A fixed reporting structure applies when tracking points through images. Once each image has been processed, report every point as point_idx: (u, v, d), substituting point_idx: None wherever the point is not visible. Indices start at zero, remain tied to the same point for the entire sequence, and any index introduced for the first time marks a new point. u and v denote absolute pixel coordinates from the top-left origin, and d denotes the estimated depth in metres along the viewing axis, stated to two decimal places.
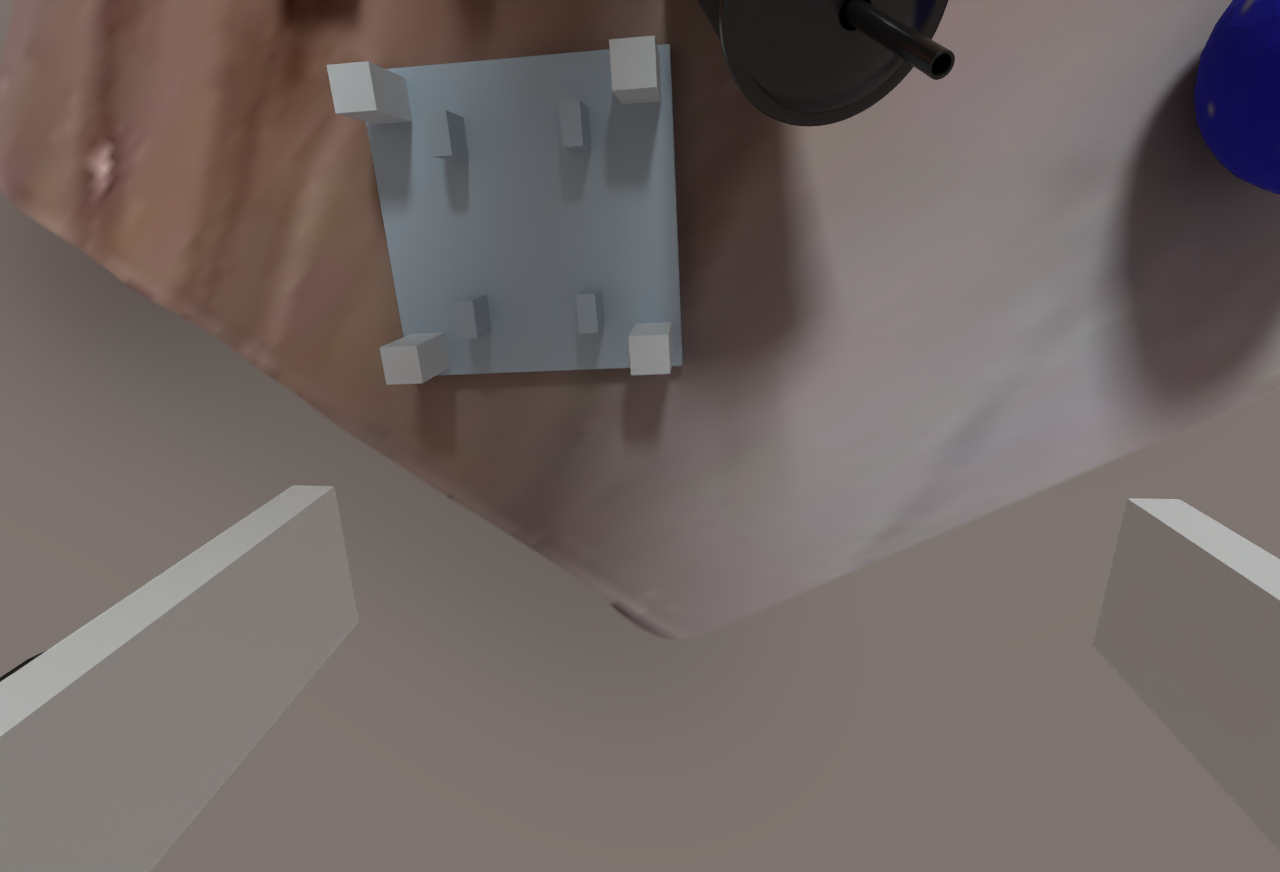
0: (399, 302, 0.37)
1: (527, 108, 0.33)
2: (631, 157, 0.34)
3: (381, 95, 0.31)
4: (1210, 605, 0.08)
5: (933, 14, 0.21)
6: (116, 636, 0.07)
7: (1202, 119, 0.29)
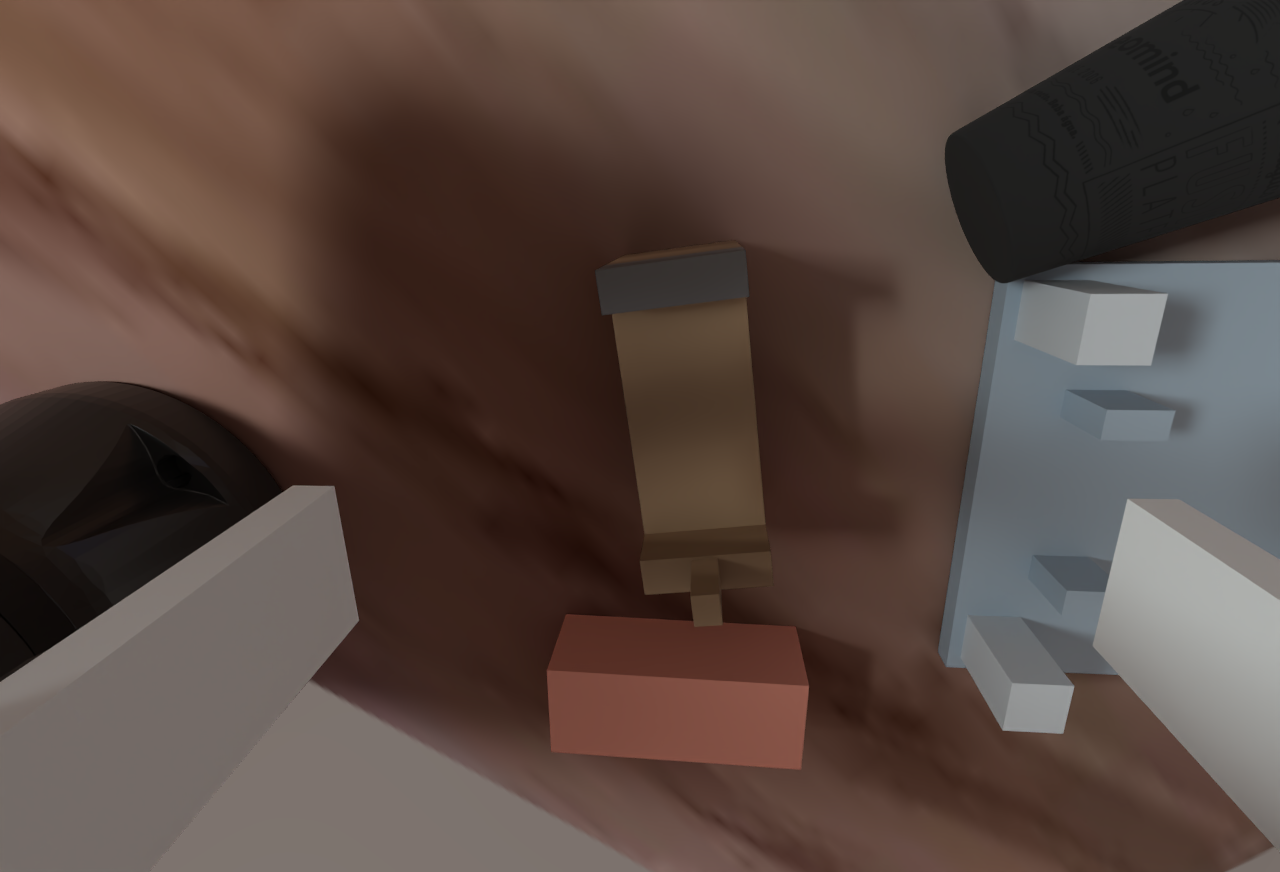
0: None
1: (1044, 472, 0.24)
2: None
3: (1041, 670, 0.23)
4: (1211, 605, 0.08)
5: None
6: (116, 636, 0.07)
7: None
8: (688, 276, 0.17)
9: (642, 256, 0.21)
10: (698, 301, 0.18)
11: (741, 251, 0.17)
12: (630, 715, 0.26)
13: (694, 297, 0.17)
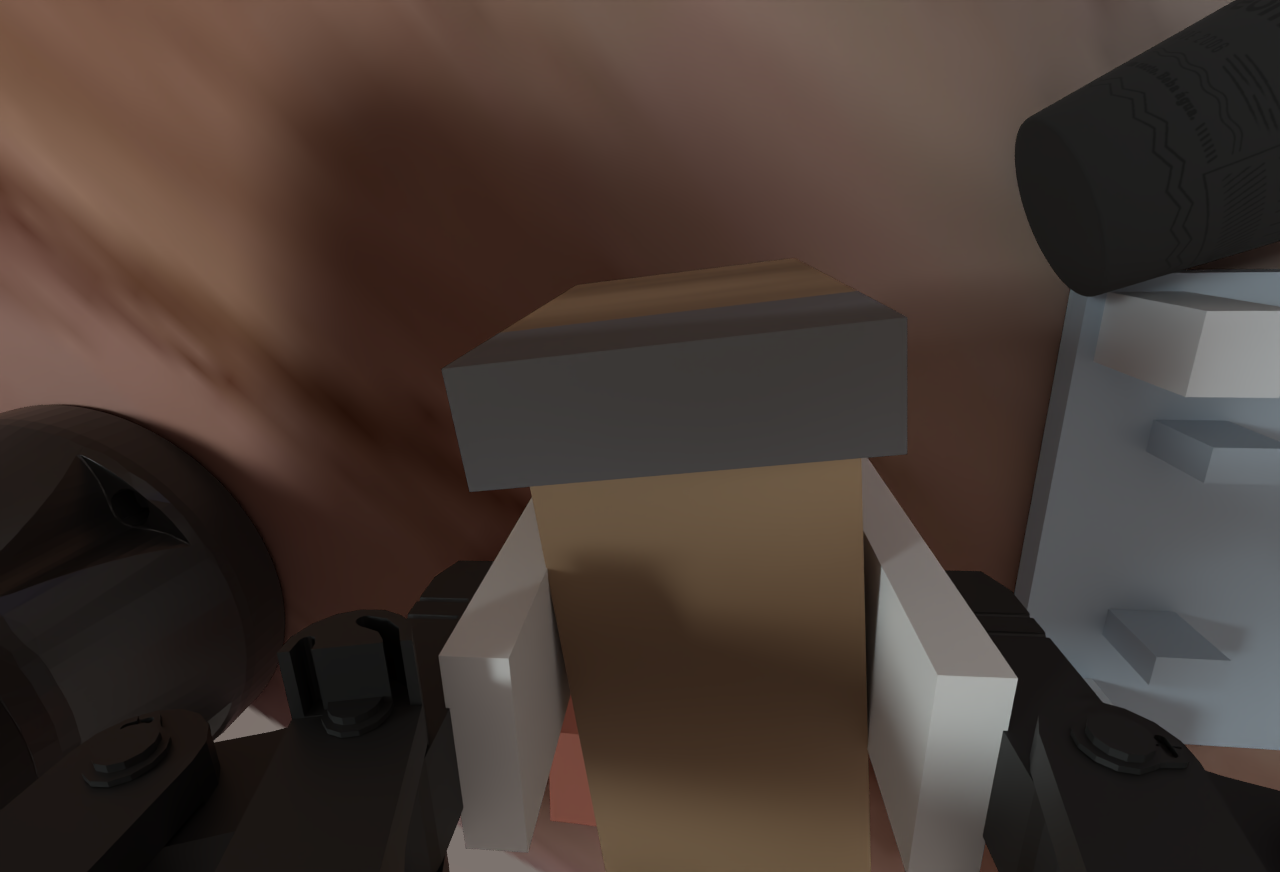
0: None
1: (1125, 514, 0.20)
2: None
3: None
4: None
5: None
6: (540, 551, 0.09)
7: None
8: (723, 392, 0.06)
9: (605, 298, 0.10)
10: (751, 463, 0.06)
11: (894, 321, 0.05)
12: None
13: (739, 452, 0.06)
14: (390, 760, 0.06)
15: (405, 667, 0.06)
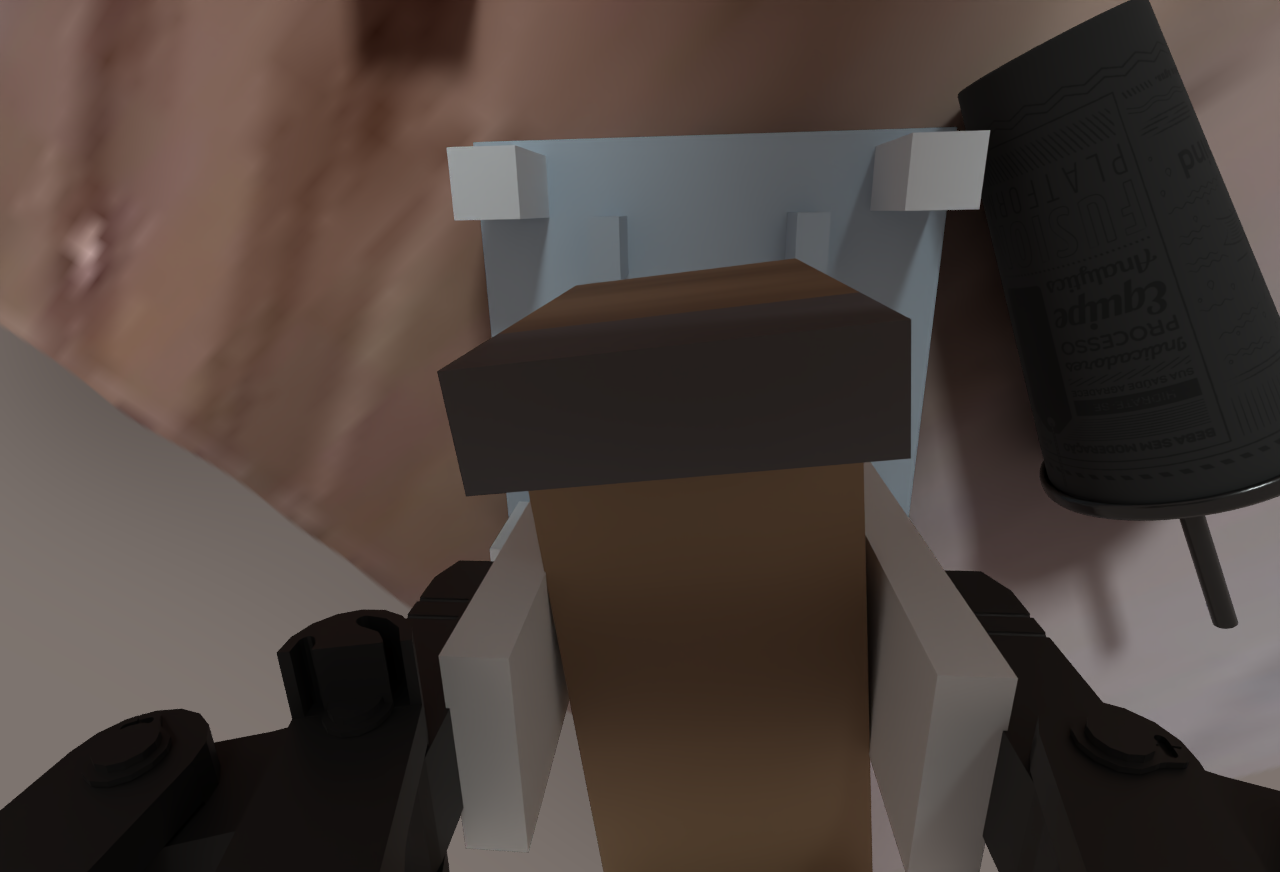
0: None
1: (725, 208, 0.23)
2: (872, 284, 0.23)
3: (525, 194, 0.20)
4: None
5: None
6: None
7: None
8: (723, 395, 0.06)
9: (604, 299, 0.09)
10: (752, 468, 0.06)
11: (897, 323, 0.05)
12: None
13: (740, 456, 0.06)
14: (390, 760, 0.06)
15: (405, 667, 0.06)
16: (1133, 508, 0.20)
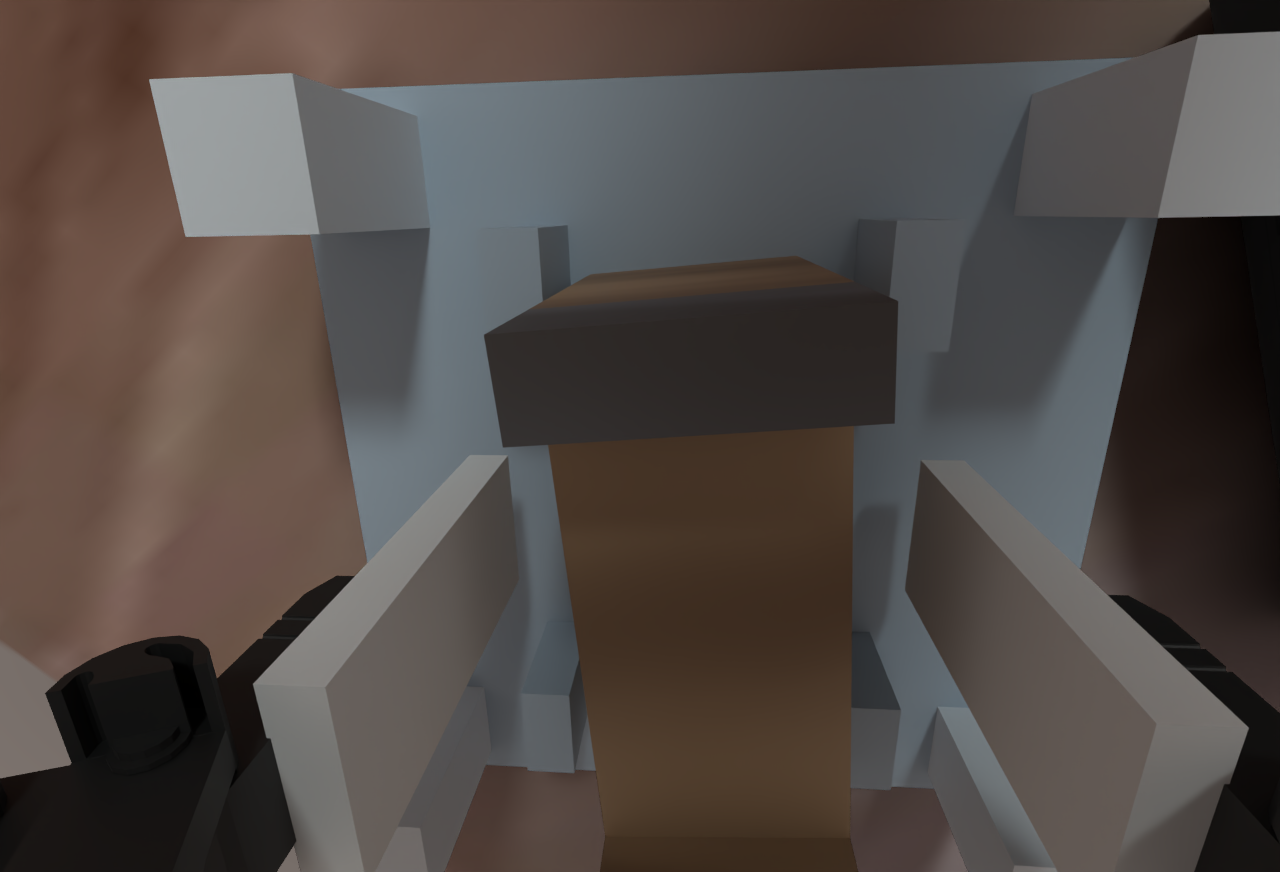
0: None
1: (745, 211, 0.12)
2: (1009, 349, 0.13)
3: (339, 182, 0.10)
4: (956, 542, 0.10)
5: None
6: (403, 569, 0.09)
7: None
8: (734, 363, 0.06)
9: (621, 285, 0.10)
10: (757, 428, 0.07)
11: (887, 304, 0.06)
12: None
13: (747, 418, 0.07)
14: (183, 790, 0.05)
15: (201, 692, 0.06)
16: None
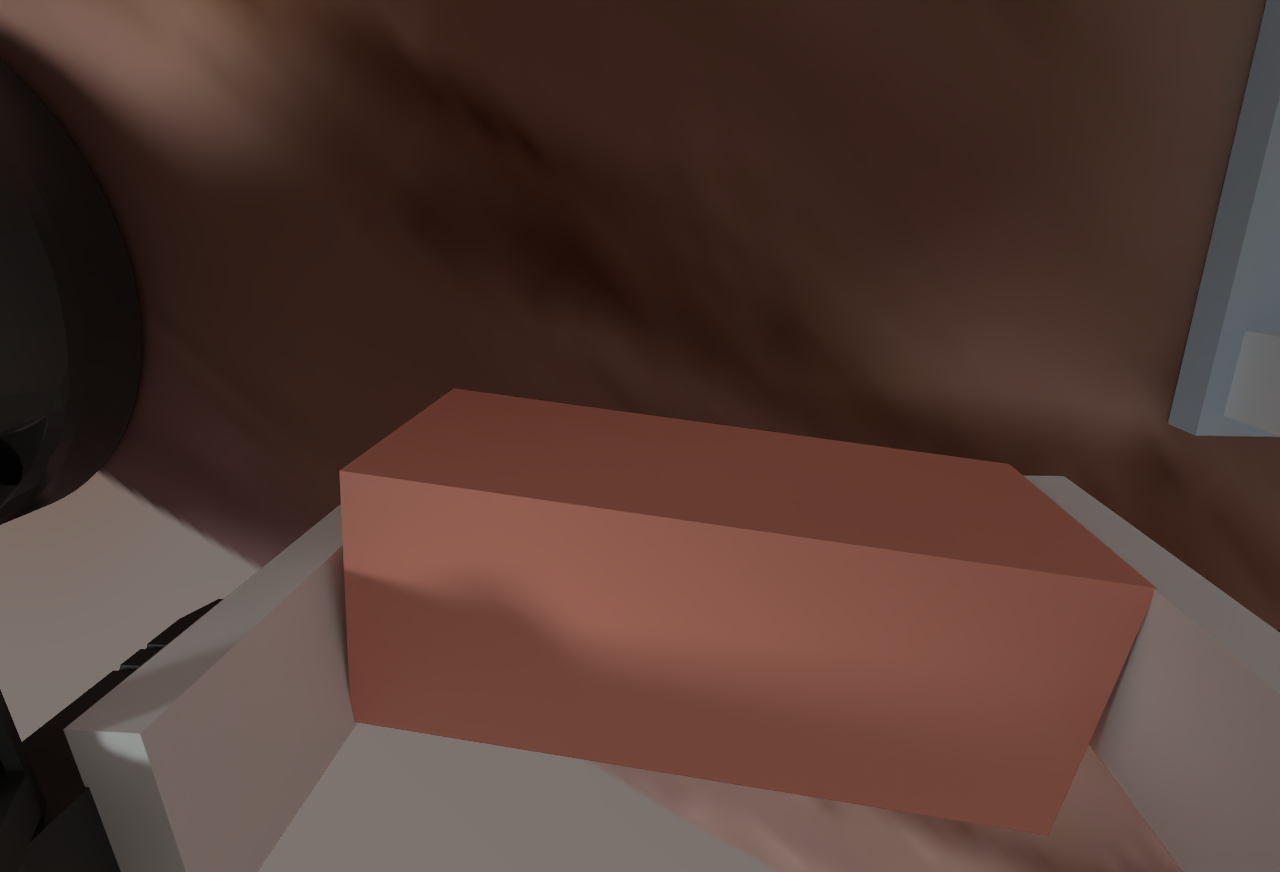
0: None
1: None
2: None
3: None
4: None
5: None
6: (273, 594, 0.08)
7: None
8: None
9: None
10: None
11: None
12: (580, 636, 0.09)
13: None
14: None
15: None
16: None
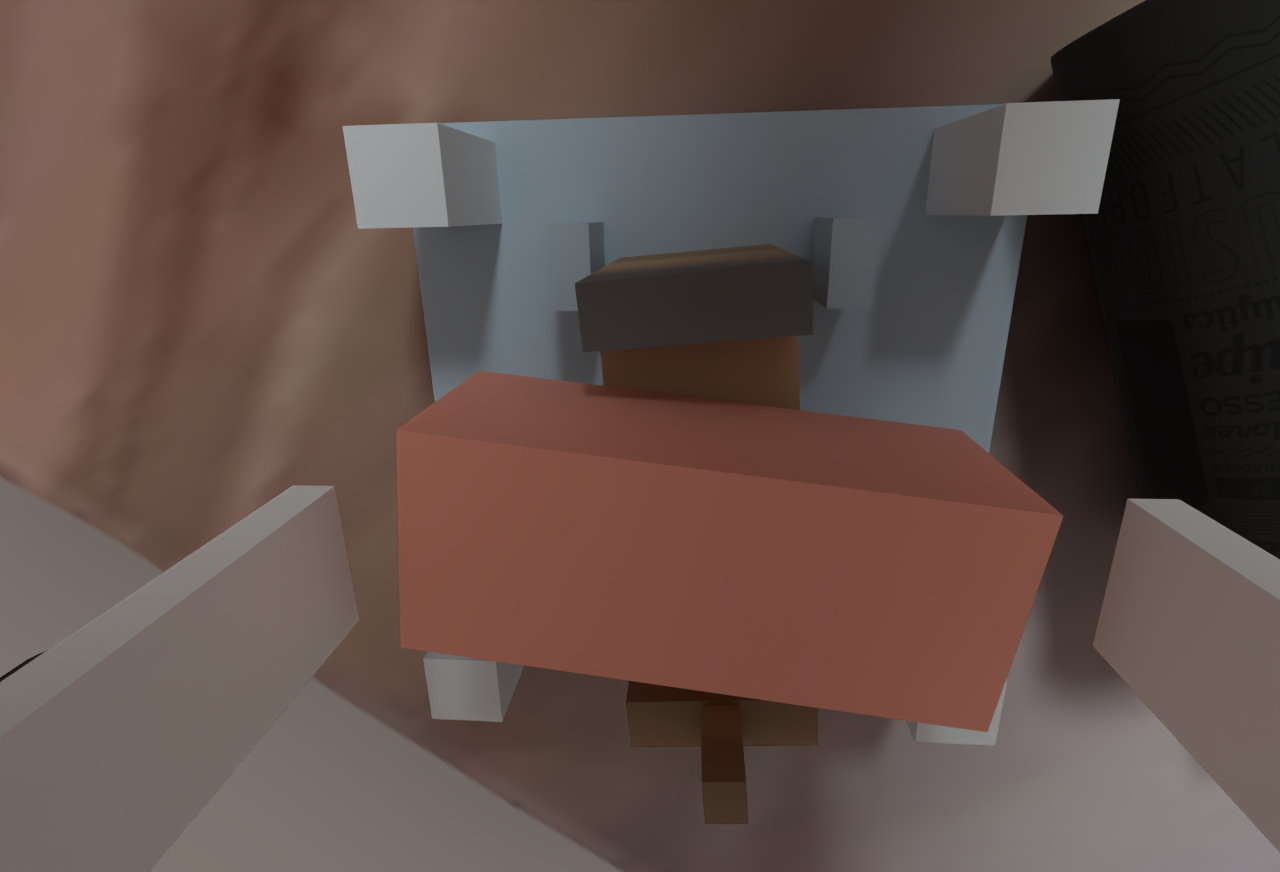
0: None
1: (732, 211, 0.17)
2: (925, 312, 0.17)
3: (457, 192, 0.14)
4: (1210, 605, 0.08)
5: None
6: (116, 636, 0.07)
7: None
8: (720, 299, 0.11)
9: (646, 262, 0.15)
10: (733, 338, 0.11)
11: (805, 264, 0.11)
12: (595, 567, 0.10)
13: (727, 332, 0.11)
14: None
15: None
16: None
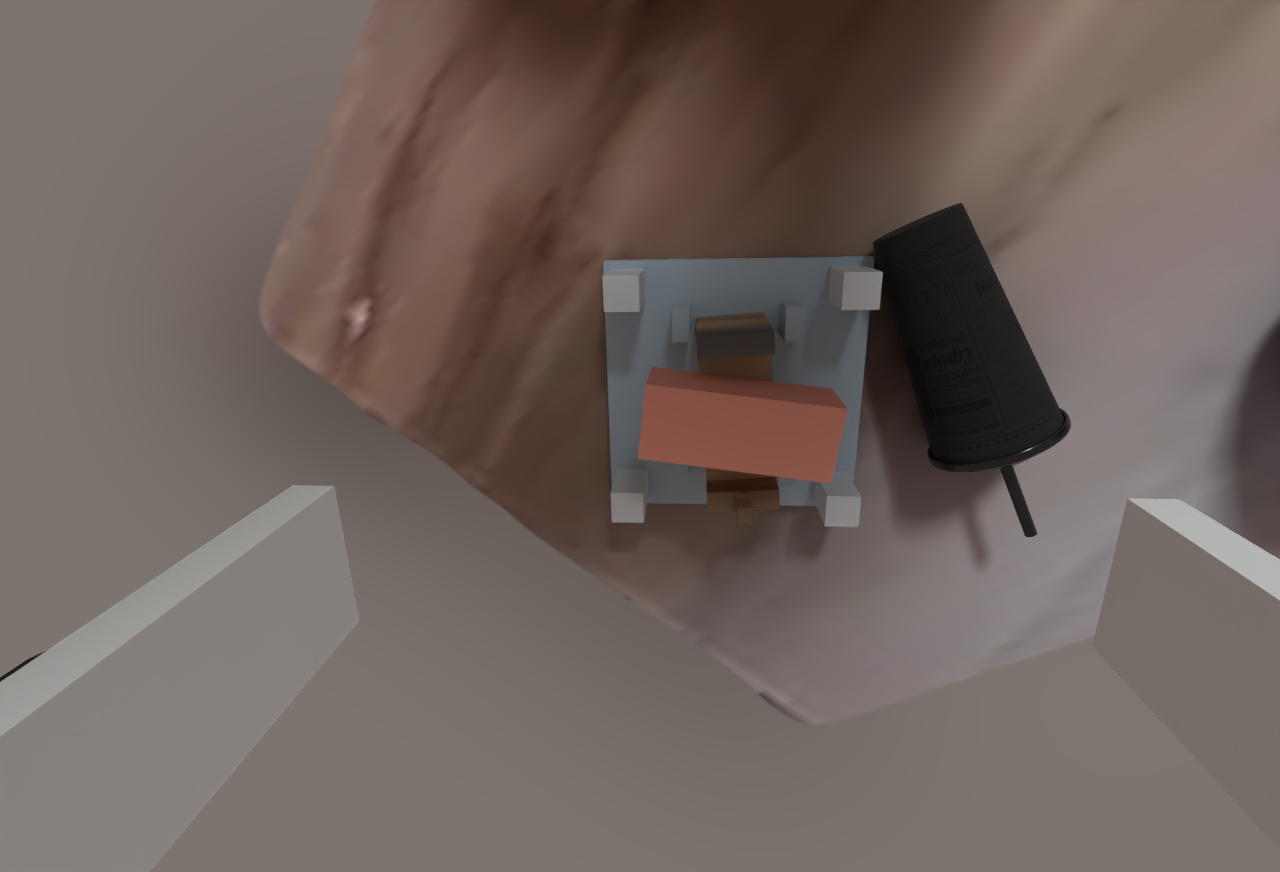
0: (611, 443, 0.43)
1: (746, 298, 0.40)
2: (830, 341, 0.40)
3: (640, 297, 0.37)
4: (1211, 606, 0.08)
5: None
6: (116, 636, 0.07)
7: None
8: (744, 342, 0.34)
9: (712, 323, 0.38)
10: (748, 355, 0.34)
11: (772, 331, 0.33)
12: (705, 428, 0.33)
13: (746, 353, 0.34)
14: None
15: None
16: (965, 465, 0.37)
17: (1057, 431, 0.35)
